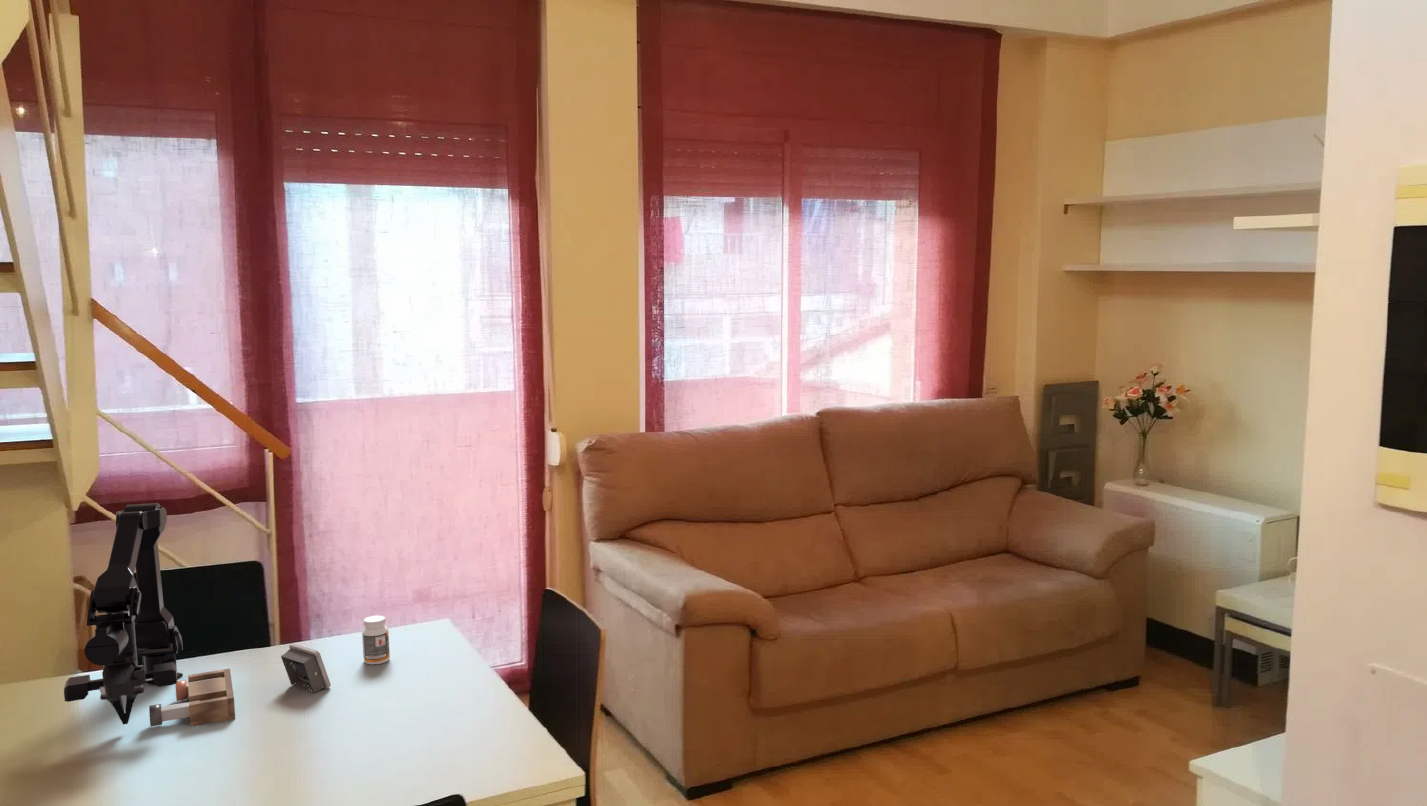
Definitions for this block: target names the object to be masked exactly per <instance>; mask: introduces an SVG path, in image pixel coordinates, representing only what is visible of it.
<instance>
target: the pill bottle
mask: <svg viewBox="0 0 1427 806" xmlns="http://www.w3.org/2000/svg"><path fill="white" fill-rule="evenodd" d="M386 621H387V620H386V616H384V615H370V616H367V617H365V618H364V619H363V626H364V629H363V630H362V634H361V639H362V649H363V650H362V655H363V662H364V663H365V664H367V665H374V664H375V665H380V664H384V663H386V662H388V661H389V660H390V658H391V656H390V655H391V654H390V637H389V634H390V633H389V628H388V627H387V626H386ZM375 665H374V666H375Z"/></svg>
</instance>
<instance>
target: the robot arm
mask: <svg viewBox="0 0 1427 806" xmlns="http://www.w3.org/2000/svg"><path fill="white" fill-rule="evenodd" d="M167 512H168V511H167V510H166V508H165V507H163V506H161V505H160V503H158V502H157V503H155V502H154V503H142V504H140V503H139V504H126V506H125V507H124V510H119V511H116V512H115V527H116V530H115V533H114V534H115V535H114V539H113V543H112V548H111V552H110V556H109V561H108V565H107V568H106V570H105V571H103V572H102V573H101V574H100V575H99V576H98V577H97V578H96V581H95V584H94V587H93V589H92V590H91V591H90V596H89V603H88V609H87V610H88V612H87V618H86V626H88V627H89V626H95V629H94V634H93V635H92V637H90V638H89V640H88V641H87V643H86V644H85V647H84V655H85V656H84V657H85V658H86V659H87V660H88V661H89V663H91V664H92V665H96V666H103V669H102V672H101V673H102V678H97V679H91V676H90V674H86V675H85V674H84V675H79V676H73V677H72V676H71V677H68V678H67V680H66V681H65V684H64V688H63V697H64V702H67V703H69V702H74V701H81V700H85V699H86V698H87V696H88V695H89V692H92V691H97V690H98V691H99V692H100V696H99V698H100V700H101V701H103V700H104V701H108V702H109V703H110V704H111V705H112V707H113V708H114V709H115V711H116V714H117V716H118V718H119V720H120V721H121V724H122V725H127V724H129V720H130V718H131V717H130V716H131V713H132V710H133V706H134V703H135V701H136V699H137V697H138V695H140V694H143V693H144V692H145V685H150V686H154V685H155V687H157V688H162V687H167V686H175V684H176V683H177V681H178V679H179V678H182V677H183V676H184V675H183V673H182V672H178V667H177V659H176V655H177V654H178V653H179V652H182V651H184V646H183V639H182V634H181V633H180V631H179V629H178V627H177V625H175V620H174V616H173V615H172V613H171V612H170V611H169V610H168V609H167V608H166V607H165V606H164V605H165V604H164V597H163V587H162V576H161V564H160V562H161V561H160V552H159V544H158V543H159V542H158V541H159V540H160V538H161V536H162V534H163V533H164V531H165V529H166V526H165V525H166V524H167V520H168V515H167V514H168V513H167ZM135 575H136V578H135V577H134V576H135ZM96 613H98V614H96ZM137 616H138V617H137ZM136 617H137V618H136ZM139 657H142V658H141V659H142V662H141V663H142V665H139V663H138V658H139ZM138 665H139V666H138ZM122 696H125V697H126V699H125V707H124V702H123V697H122Z"/></svg>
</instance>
